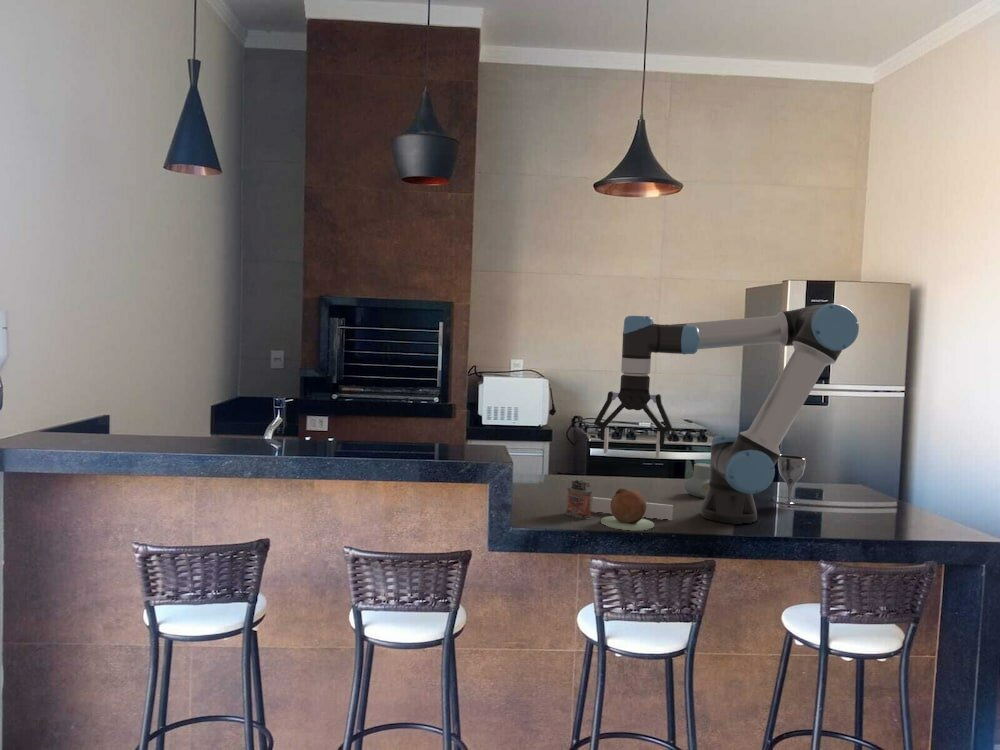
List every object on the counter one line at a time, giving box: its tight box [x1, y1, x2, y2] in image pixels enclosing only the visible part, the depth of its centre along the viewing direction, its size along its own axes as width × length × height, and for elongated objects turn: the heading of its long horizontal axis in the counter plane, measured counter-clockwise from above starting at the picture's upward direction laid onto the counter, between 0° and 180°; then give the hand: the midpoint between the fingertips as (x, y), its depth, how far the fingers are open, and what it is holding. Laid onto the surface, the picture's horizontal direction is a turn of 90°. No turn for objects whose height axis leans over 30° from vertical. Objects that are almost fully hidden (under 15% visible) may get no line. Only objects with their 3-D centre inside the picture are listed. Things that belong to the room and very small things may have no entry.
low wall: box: [591, 496, 674, 521], centre depth 219 cm, size 22×1×4 cm, turn 74°
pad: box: [600, 515, 655, 532], centre depth 209 cm, size 14×14×1 cm
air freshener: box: [684, 462, 710, 499], centre depth 249 cm, size 11×8×10 cm
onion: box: [611, 488, 647, 524], centre depth 209 cm, size 10×9×10 cm
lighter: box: [565, 478, 592, 519], centre depth 216 cm, size 8×3×10 cm, turn 40°
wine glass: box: [777, 453, 807, 504], centre depth 241 cm, size 8×8×15 cm
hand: (631, 454), depth 208 cm, fingers open, 13 cm apart
